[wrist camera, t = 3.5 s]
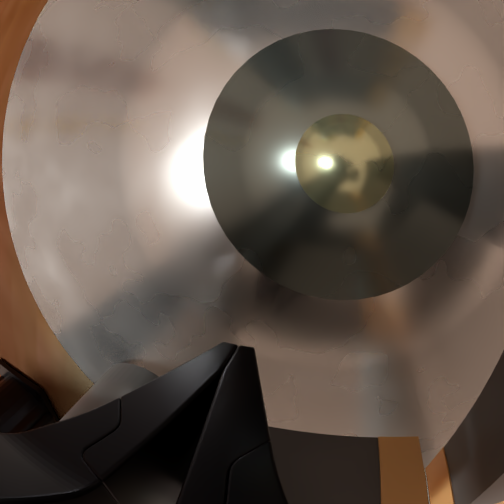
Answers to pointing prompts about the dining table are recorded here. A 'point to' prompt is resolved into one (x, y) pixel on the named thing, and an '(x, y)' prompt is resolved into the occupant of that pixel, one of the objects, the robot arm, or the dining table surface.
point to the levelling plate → (271, 197)
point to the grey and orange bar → (473, 452)
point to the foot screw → (309, 455)
